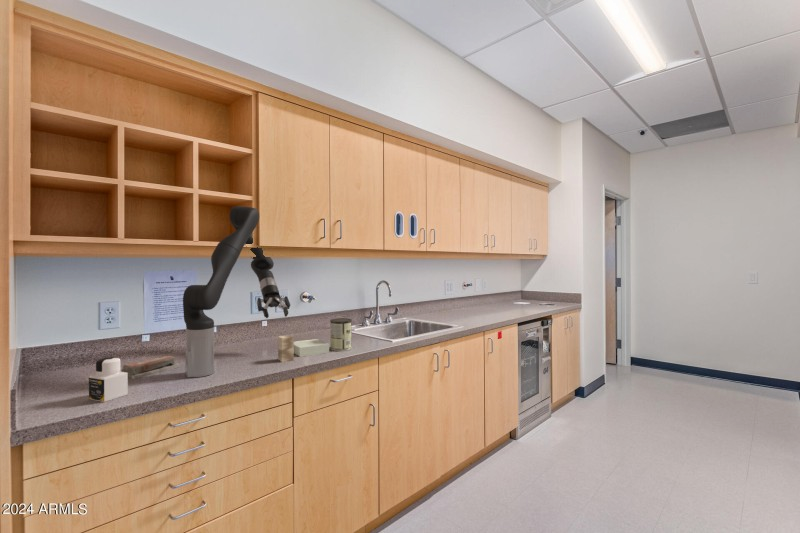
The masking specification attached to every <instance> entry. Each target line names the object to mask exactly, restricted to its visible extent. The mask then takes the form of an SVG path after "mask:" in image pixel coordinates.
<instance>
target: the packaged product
mask: <svg viewBox="0 0 800 533" xmlns="http://www.w3.org/2000/svg"><path fill="white" fill-rule="evenodd" d="M175 359H176V358H175V357H174V356H173V355H167V356H165V355H164V356H161V357H156V358H151V359H145V360H141V361H137V362H131V363H127V364H124V365H123V366H122V369H121V370H120V372H126V373H128V379H132V380H136V379H140V378H143V377H147V376H151V375H156V374H159V373H163V372H164V373H165V372H167V371H171V370H174V369H175V370H176V369H179V368H181V367H182V363H176V361H175Z"/></svg>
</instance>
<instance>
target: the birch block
mask: <svg viewBox="0 0 800 533" xmlns="http://www.w3.org/2000/svg"><path fill="white" fill-rule="evenodd" d="M294 339H295V337H294V336H292V335H288V334H287V335H279V336H277V342H278V344H277V349H278V350H277V352H278V353H277V356H278V357H277V358H278V359H277V360H278V361H279V360H280V361H279V362H281V363H286V361H287V362H291V361H294V360H295V359H294V357H295V356H294V355H295V354H294V342H295V340H294Z"/></svg>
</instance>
